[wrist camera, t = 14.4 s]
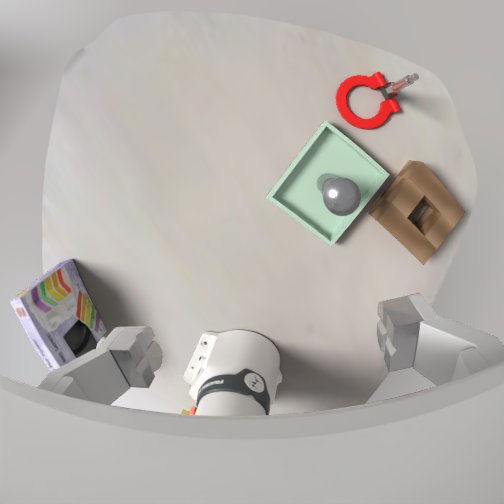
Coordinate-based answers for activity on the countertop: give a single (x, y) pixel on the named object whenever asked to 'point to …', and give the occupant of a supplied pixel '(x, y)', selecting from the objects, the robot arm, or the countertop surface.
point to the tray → (311, 168)
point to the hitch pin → (339, 194)
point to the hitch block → (403, 203)
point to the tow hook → (373, 83)
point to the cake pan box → (59, 316)
